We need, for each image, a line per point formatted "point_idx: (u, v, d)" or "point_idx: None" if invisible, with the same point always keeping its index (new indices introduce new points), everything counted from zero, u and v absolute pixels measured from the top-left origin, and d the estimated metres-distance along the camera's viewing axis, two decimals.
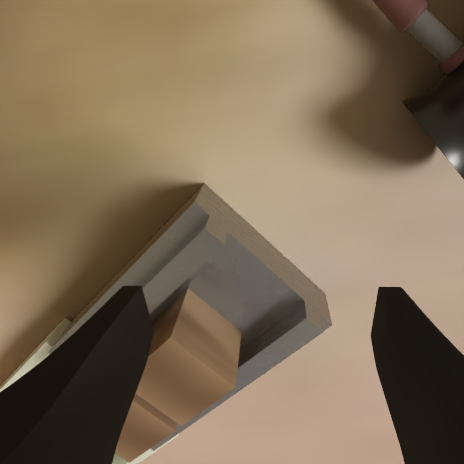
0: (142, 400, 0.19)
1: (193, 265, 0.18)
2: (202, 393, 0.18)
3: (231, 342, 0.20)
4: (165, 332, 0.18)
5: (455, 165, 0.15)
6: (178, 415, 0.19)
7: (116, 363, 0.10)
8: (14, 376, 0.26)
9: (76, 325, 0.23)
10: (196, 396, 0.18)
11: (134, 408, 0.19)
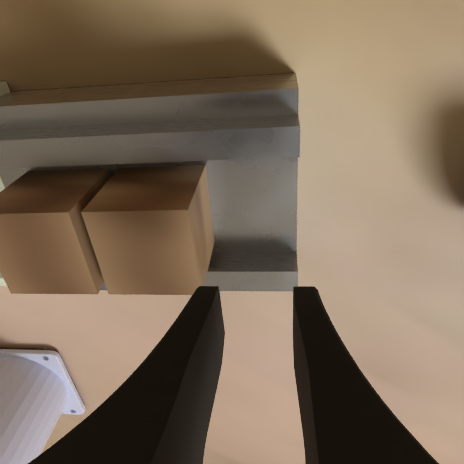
0: (85, 245, 0.15)
1: (250, 151, 0.15)
2: (163, 280, 0.15)
3: (209, 246, 0.18)
4: (173, 197, 0.14)
5: None
6: (115, 283, 0.16)
7: (204, 365, 0.10)
8: None
9: (37, 106, 0.16)
10: (154, 278, 0.15)
11: (71, 248, 0.15)
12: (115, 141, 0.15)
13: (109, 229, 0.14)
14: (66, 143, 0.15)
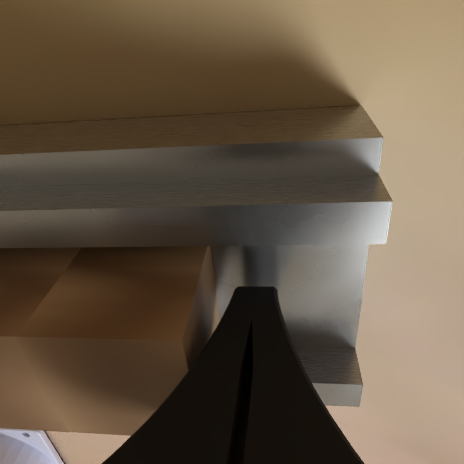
0: None
1: (310, 235, 0.10)
2: None
3: None
4: (160, 309, 0.09)
5: None
6: (77, 420, 0.11)
7: (250, 367, 0.10)
8: None
9: None
10: (133, 418, 0.10)
11: (25, 379, 0.10)
12: (102, 216, 0.10)
13: (61, 359, 0.09)
14: (29, 218, 0.10)
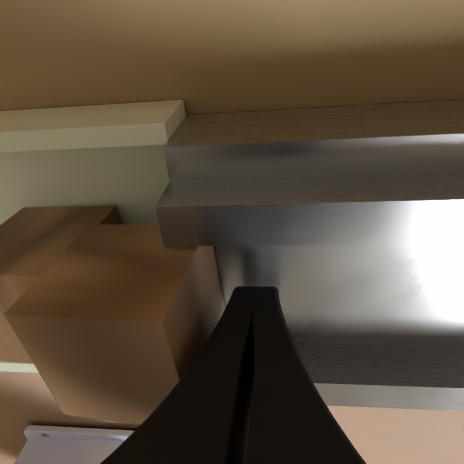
0: None
1: None
2: (137, 408, 0.10)
3: None
4: (146, 291, 0.09)
5: None
6: (71, 404, 0.11)
7: (248, 367, 0.10)
8: (21, 133, 0.11)
9: (280, 145, 0.10)
10: (123, 404, 0.10)
11: None
12: (443, 209, 0.09)
13: (48, 339, 0.09)
14: (352, 211, 0.09)
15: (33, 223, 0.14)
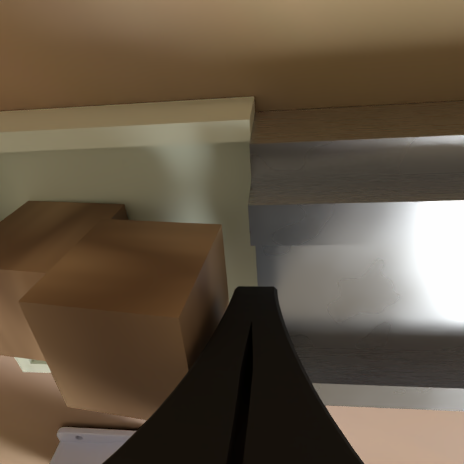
0: None
1: None
2: (142, 403, 0.10)
3: None
4: (162, 286, 0.09)
5: None
6: (75, 396, 0.11)
7: (250, 367, 0.10)
8: (98, 130, 0.11)
9: (373, 142, 0.10)
10: (129, 398, 0.10)
11: None
12: None
13: (60, 329, 0.09)
14: (456, 210, 0.09)
15: (39, 217, 0.13)
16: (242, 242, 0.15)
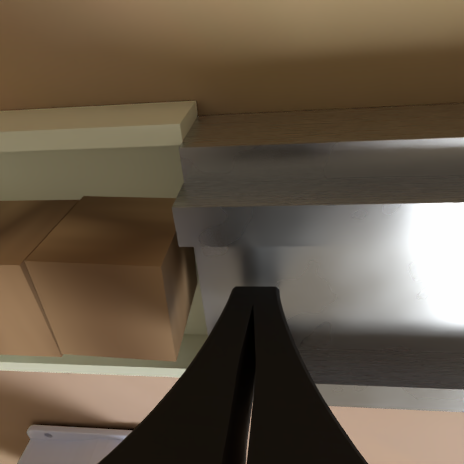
0: None
1: None
2: (129, 343, 0.12)
3: (189, 294, 0.15)
4: (144, 245, 0.11)
5: None
6: (70, 343, 0.13)
7: (247, 367, 0.10)
8: (35, 133, 0.11)
9: (296, 147, 0.10)
10: (118, 340, 0.12)
11: None
12: (459, 212, 0.09)
13: (61, 283, 0.11)
14: (368, 213, 0.09)
15: None
16: None
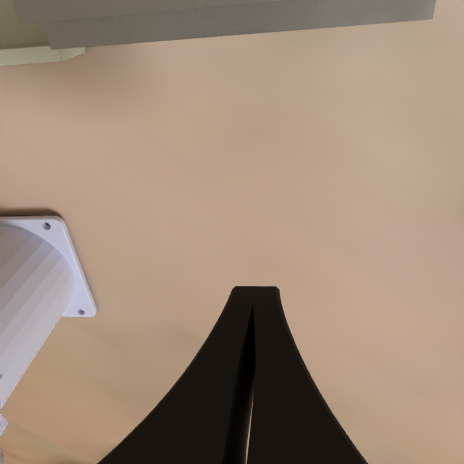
0: None
1: None
2: None
3: None
4: None
5: None
6: None
7: (247, 367, 0.10)
8: None
9: None
10: None
11: None
12: None
13: None
14: None
15: None
16: None
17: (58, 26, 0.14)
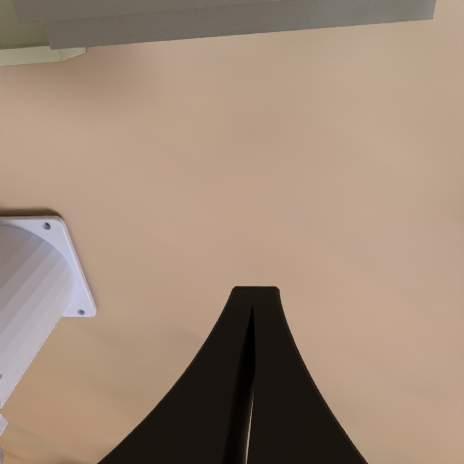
0: None
1: None
2: None
3: None
4: None
5: None
6: None
7: (247, 367, 0.10)
8: None
9: None
10: None
11: None
12: None
13: None
14: None
15: None
16: None
17: (58, 26, 0.14)
